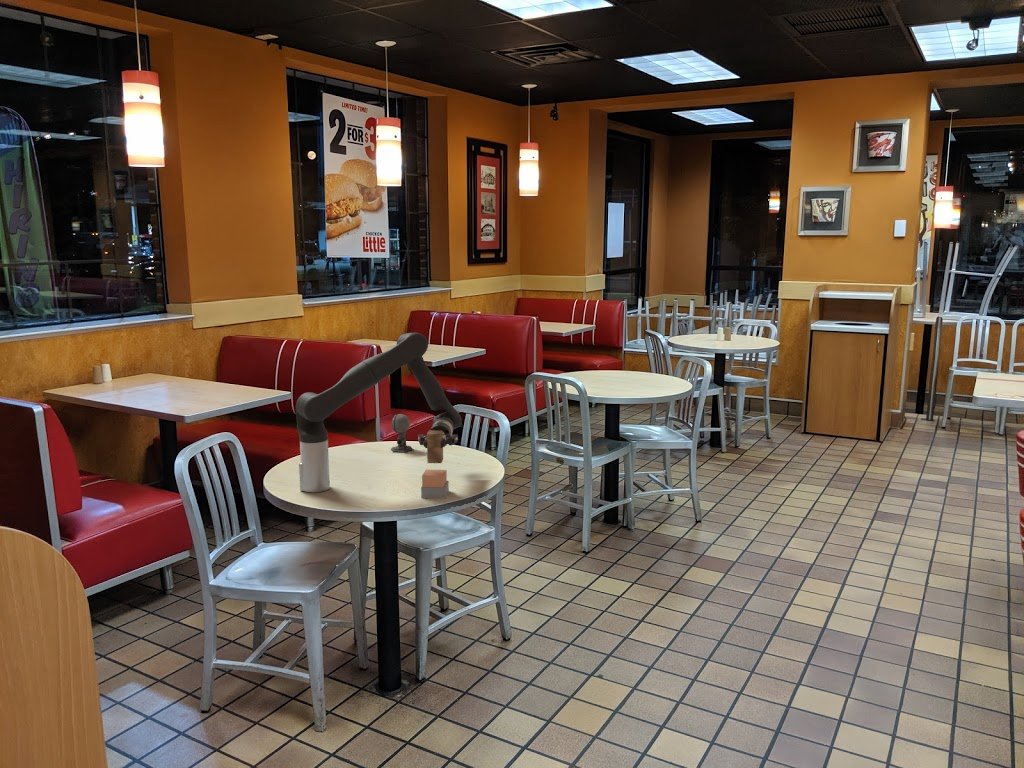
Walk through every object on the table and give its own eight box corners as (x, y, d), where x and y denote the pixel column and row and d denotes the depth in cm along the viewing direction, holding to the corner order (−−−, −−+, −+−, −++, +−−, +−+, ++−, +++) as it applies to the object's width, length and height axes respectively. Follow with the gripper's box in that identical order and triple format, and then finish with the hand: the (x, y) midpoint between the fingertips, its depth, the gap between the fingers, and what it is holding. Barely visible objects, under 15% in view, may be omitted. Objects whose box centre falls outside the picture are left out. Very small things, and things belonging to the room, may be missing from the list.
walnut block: (427, 463, 255) (426, 433, 253) (429, 459, 259) (428, 430, 258) (441, 463, 255) (440, 433, 253) (443, 459, 259) (442, 430, 257)
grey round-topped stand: (394, 446, 320) (393, 411, 317) (416, 447, 318) (416, 412, 316) (387, 452, 312) (386, 416, 309) (410, 453, 310) (409, 417, 307)
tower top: (422, 487, 255) (422, 475, 254) (426, 480, 262) (426, 469, 261) (443, 487, 255) (443, 475, 254) (446, 481, 262) (446, 469, 261)
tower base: (421, 499, 255) (421, 487, 255) (425, 491, 263) (425, 480, 263) (445, 499, 255) (445, 487, 254) (448, 491, 263) (448, 480, 262)
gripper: (420, 421, 270) (411, 433, 253) (461, 422, 269) (455, 434, 252) (421, 442, 271) (412, 456, 254) (461, 443, 270) (455, 456, 253)
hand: (433, 445), depth 253 cm, fingers closed on walnut block, 4 cm apart
